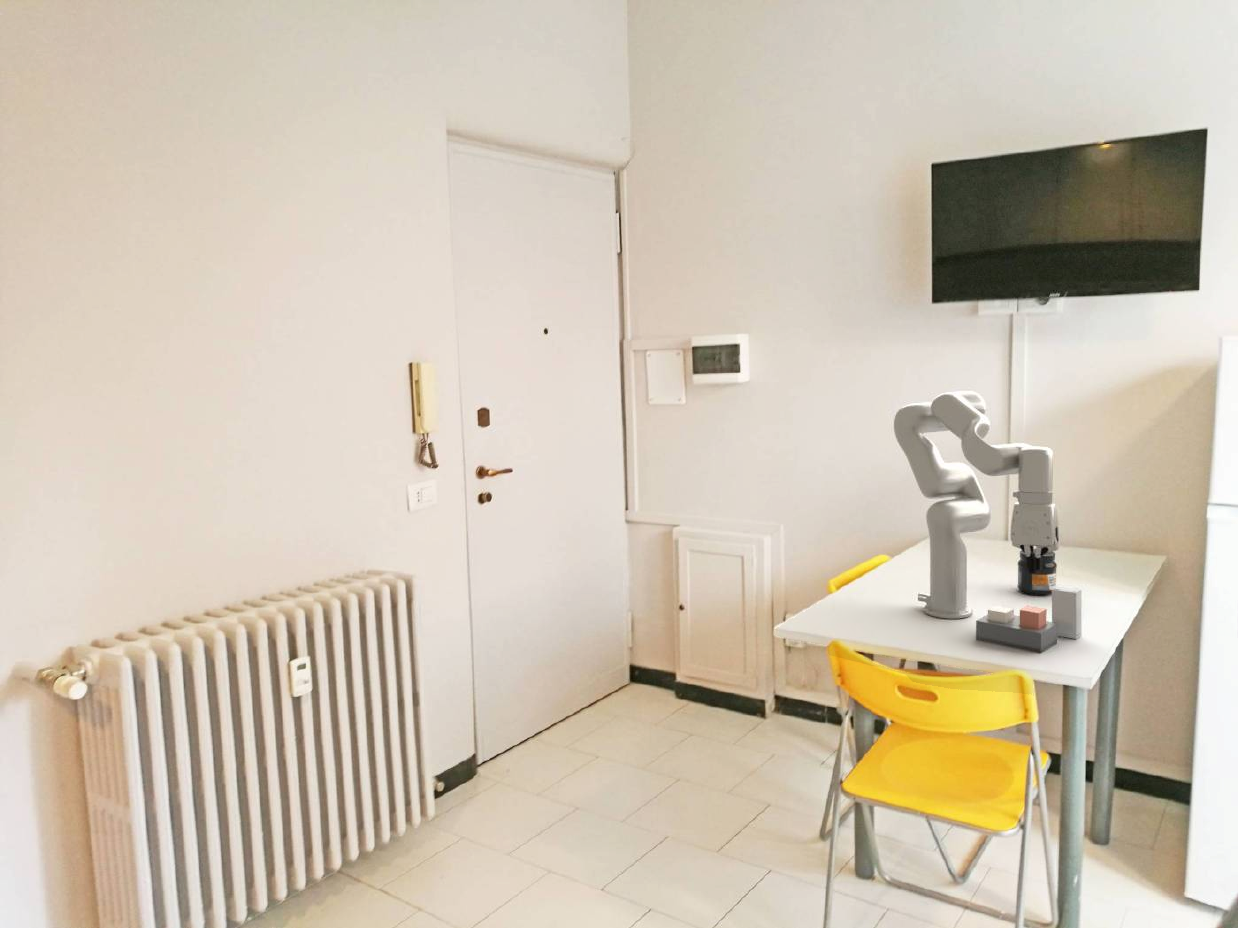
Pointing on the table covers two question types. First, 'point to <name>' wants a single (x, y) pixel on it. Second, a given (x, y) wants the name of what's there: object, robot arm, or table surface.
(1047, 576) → the supplement container
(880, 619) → the table surface
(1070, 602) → the skincare box
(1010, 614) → the ivory key
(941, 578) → the robot arm
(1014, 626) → the key housing
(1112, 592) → the table surface
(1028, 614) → the brick key
